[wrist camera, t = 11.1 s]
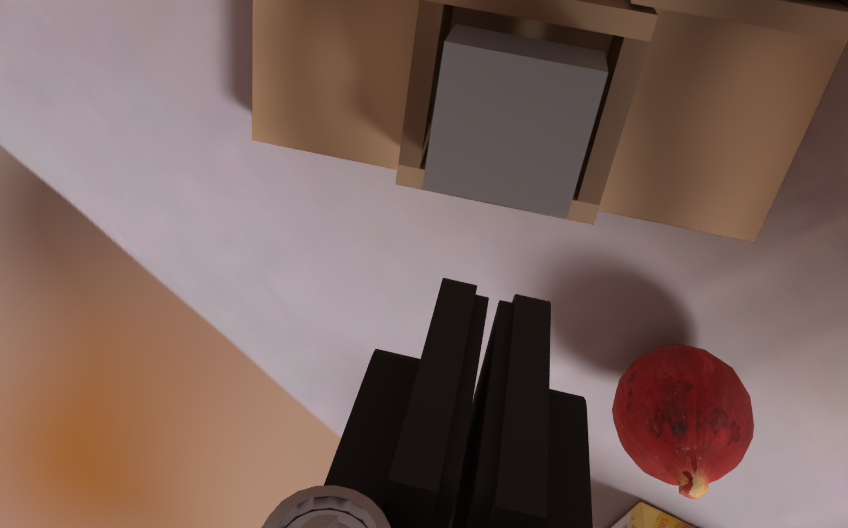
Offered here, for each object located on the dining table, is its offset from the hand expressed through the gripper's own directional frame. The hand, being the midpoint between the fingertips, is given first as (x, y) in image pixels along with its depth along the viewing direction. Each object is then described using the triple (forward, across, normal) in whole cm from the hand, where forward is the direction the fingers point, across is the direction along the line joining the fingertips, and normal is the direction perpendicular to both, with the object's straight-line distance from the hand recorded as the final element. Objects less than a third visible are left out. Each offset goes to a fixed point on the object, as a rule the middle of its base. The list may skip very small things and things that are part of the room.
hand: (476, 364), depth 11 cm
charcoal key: (+14, 0, +1) cm, 14 cm away
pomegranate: (+20, -10, +13) cm, 25 cm away
